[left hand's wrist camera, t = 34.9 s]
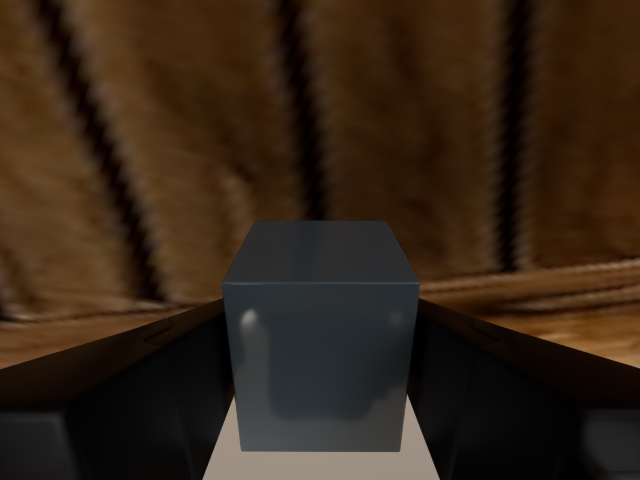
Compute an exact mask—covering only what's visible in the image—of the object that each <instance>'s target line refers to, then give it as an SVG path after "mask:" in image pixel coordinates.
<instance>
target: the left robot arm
mask: <svg viewBox="0 0 640 480" xmlns="http://www.w3.org/2000/svg"><path fill="white" fill-rule="evenodd" d="M407 394H408V397H409V400H410V402H411V405H412V408H413V410H414V413H415V415H416V418H417V421H418V423H419V426H420V429H421V431H422V434H423V436H424V439H425V442H426V444H427V447H428V450H429V452H430V455H431V457H432V460H433V463H434V465H435V468H436V471H437V473H438V476H439V478H440V480H640V368H637V367H633V366H630V365H627V364H623V363H620V362H617V361H613V360H610V359H607V358H603V357H600V356H597V355H593V354H590V353H587V352H583V351H580V350H577V349H573V348H570V347H567V346H563V345H560V344H557V343H553V342H550V341H547V340H543V339H540V338H537V337H533V336H530V335H527V334H523V333H520V332H517V331H514V330H510V329H507V328H504V327H501V326H498V325H495V324H492V323H489V322H486V321H483V320H480V319H478V318H476V319H475V318H473V317H471V316H468V315H465V314H462V313H459V312H456V311H454V310H451V309H448V308H445V307H442V306H440V305H437V304H434V303H431V302H428V301H425V300H423V299H420V298H419V299H418V307H417V315H416V324H415V332H414V340H413V348H412V357H411V365H410V373H409V381H408V389H407ZM233 397H234V385H233V377H232V368H231V360H230V351H229V343H228V334H227V326H226V317H225V309H224V300H223V298H222V299H219V300H216V301H214V302H211V303H208V304H205V305H202V306H200V307H197V308H194V309H191V310H188V311H186V312H183V313H180V314H177V315H174V316H172V317H169V318H165V319H162V320H159V321H156V322H153V323H150V324H147V325H144V326H141V327H138V328H135V329H132V330H129V331H126V332H122V333H119V334H116V335H113V336H109V337H106V338H103V339H99V340H96V341H93V342H89V343H86V344H83V345H79V346H76V347H73V348H70V349H66V350H63V351H60V352H56V353H53V354H50V355H46V356H43V357H40V358H36V359H33V360H30V361H26V362H23V363H20V364H17V365H13V366H10V367H7V368H3V369H0V480H202V479H203V476H204V474H205V471H206V468H207V466H208V463H209V460H210V458H211V455H212V453H213V450H214V447H215V445H216V442H217V439H218V436H219V434H220V431H221V429H222V426H223V423H224V421H225V418H226V415H227V413H228V410H229V407H230V405H231V402H232V399H233Z"/></svg>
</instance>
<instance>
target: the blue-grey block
mask: <svg viewBox="0 0 640 480" xmlns="http://www.w3.org/2000/svg"><path fill="white" fill-rule="evenodd" d="M419 291H420V282H419V280H418V278H417V276H416V274H415V272H414V271H413V269H412V267H411V265H410V263H409V261H408V259H407V258H406V256H405V254H404V252H403V250H402V248H401V246H400V245H399V243H398V241H397V239H396V237H395V235H394V233H393V232H392V230H391V228H390V226H389V224H388V222H387V221H255V222H254V224H253V226H252V228H251V229H250V231H249V233H248V235H247V237H246V239H245V240H244V242H243V244H242V246H241V248H240V250H239V252H238V253H237V255H236V257H235V259H234V261H233V263H232V264H231V266H230V268H229V270H228V272H227V274H226V275H225V277H224V279H223V281H222V292H223V300H224V309H225V317H226V326H227V334H228V343H229V351H230V360H231V368H232V377H233V385H234V394H235V402H236V411H237V419H238V428H239V436H240V445H241V450H242V451H291V452H293V451H295V452H399V451H400V447H401V439H402V430H403V422H404V414H405V406H406V398H407V389H408V381H409V373H410V365H411V357H412V348H413V340H414V332H415V324H416V315H417V307H418V299H419Z"/></svg>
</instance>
